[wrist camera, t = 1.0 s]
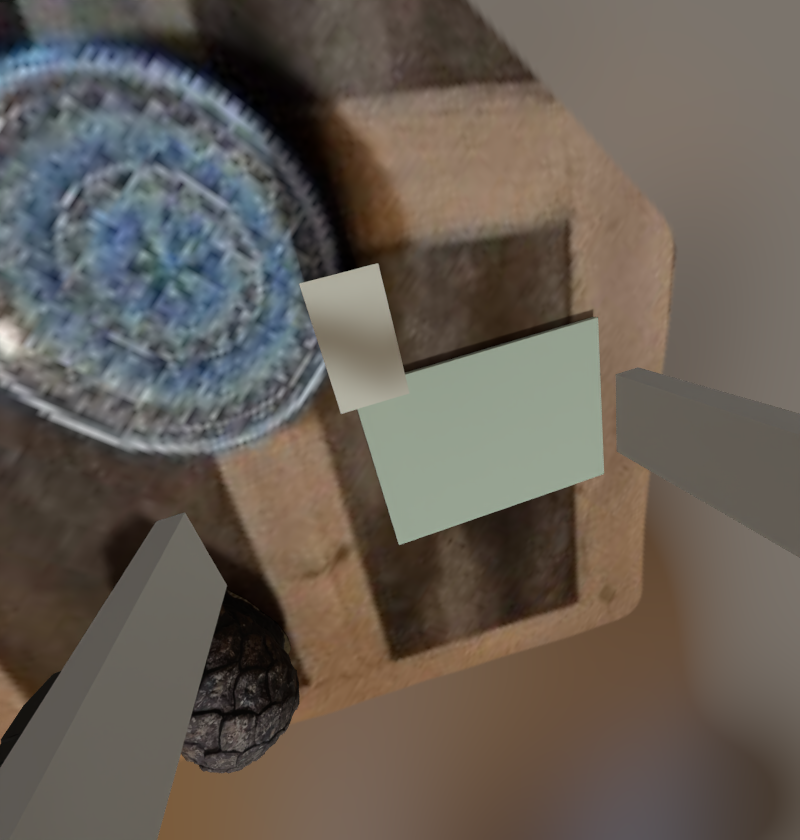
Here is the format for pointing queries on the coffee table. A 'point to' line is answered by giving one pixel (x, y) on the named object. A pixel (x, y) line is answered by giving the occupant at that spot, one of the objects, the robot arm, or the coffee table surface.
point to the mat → (489, 430)
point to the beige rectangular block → (356, 337)
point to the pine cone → (241, 690)
